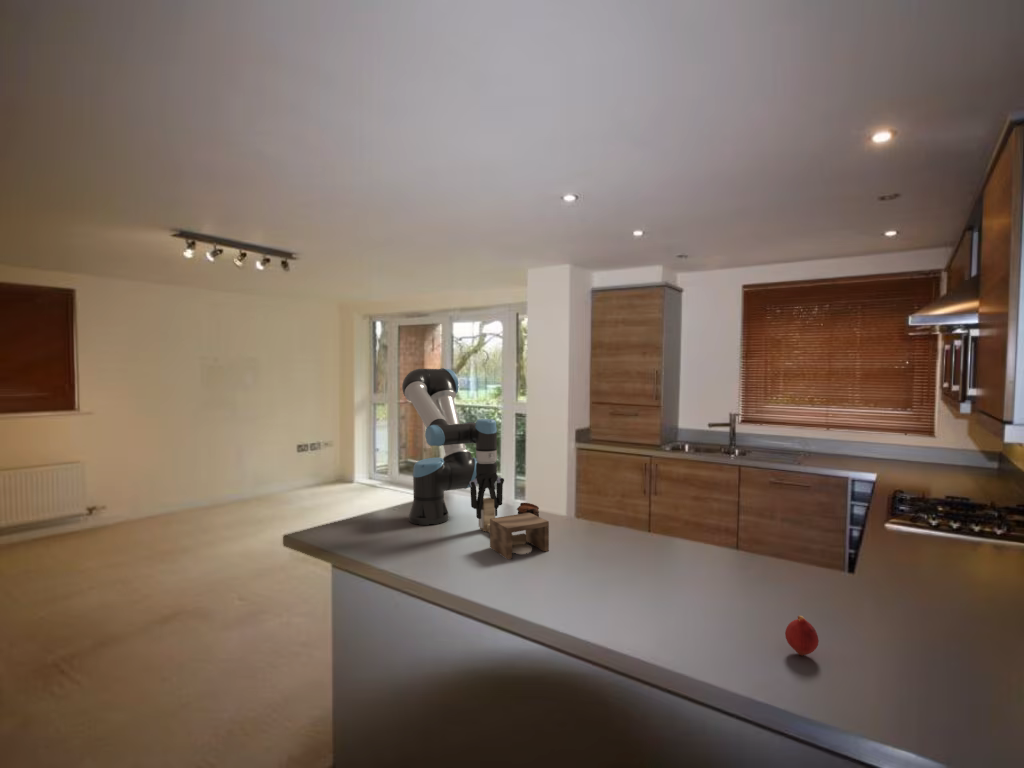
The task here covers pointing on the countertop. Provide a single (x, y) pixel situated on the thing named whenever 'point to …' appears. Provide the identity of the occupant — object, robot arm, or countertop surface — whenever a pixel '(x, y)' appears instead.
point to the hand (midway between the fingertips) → (487, 526)
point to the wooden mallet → (489, 513)
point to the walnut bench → (506, 525)
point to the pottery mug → (528, 509)
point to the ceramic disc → (521, 548)
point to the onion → (801, 636)
